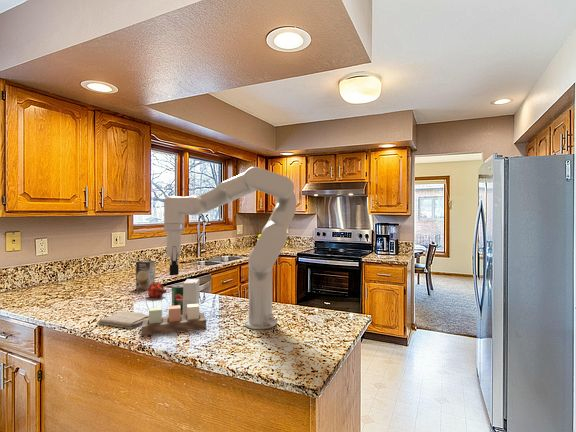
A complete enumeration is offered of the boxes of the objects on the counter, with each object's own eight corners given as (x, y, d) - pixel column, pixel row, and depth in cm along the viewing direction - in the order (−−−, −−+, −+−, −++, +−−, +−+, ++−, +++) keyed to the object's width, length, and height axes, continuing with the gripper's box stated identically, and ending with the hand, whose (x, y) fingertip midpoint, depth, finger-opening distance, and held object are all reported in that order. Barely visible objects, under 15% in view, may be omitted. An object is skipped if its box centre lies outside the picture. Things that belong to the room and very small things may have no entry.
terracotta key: (180, 317, 132) (180, 305, 132) (180, 320, 128) (180, 308, 128) (168, 318, 131) (168, 306, 130) (168, 322, 126) (168, 309, 126)
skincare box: (186, 311, 151) (186, 278, 151) (199, 310, 151) (199, 278, 151) (182, 316, 142) (182, 282, 142) (196, 316, 143) (196, 282, 143)
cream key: (198, 315, 134) (198, 303, 134) (199, 318, 130) (199, 306, 130) (186, 316, 133) (186, 304, 133) (187, 320, 129) (187, 307, 129)
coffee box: (135, 288, 195) (135, 261, 195) (141, 286, 201) (141, 260, 201) (149, 289, 193) (149, 262, 193) (155, 287, 200) (155, 260, 200)
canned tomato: (181, 305, 160) (181, 282, 160) (192, 307, 156) (192, 284, 156) (167, 309, 154) (167, 285, 153) (179, 311, 150) (179, 287, 149)
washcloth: (132, 330, 128) (132, 322, 127) (96, 325, 133) (96, 317, 133) (153, 320, 139) (153, 313, 139) (119, 316, 144) (119, 309, 144)
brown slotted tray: (203, 320, 138) (203, 312, 138) (205, 328, 128) (206, 320, 128) (143, 326, 130) (143, 318, 130) (141, 335, 121) (141, 326, 121)
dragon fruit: (152, 297, 182) (161, 304, 173) (140, 290, 176) (149, 297, 168) (162, 283, 184) (171, 290, 176) (150, 276, 179) (159, 283, 171)
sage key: (161, 319, 130) (161, 306, 130) (161, 322, 126) (161, 309, 125) (149, 320, 128) (149, 307, 128) (149, 324, 124) (149, 311, 124)
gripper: (164, 227, 135) (164, 272, 135) (163, 229, 121) (163, 279, 121) (183, 227, 137) (183, 271, 137) (185, 228, 123) (184, 277, 123)
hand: (174, 274), depth 129 cm, fingers closed
